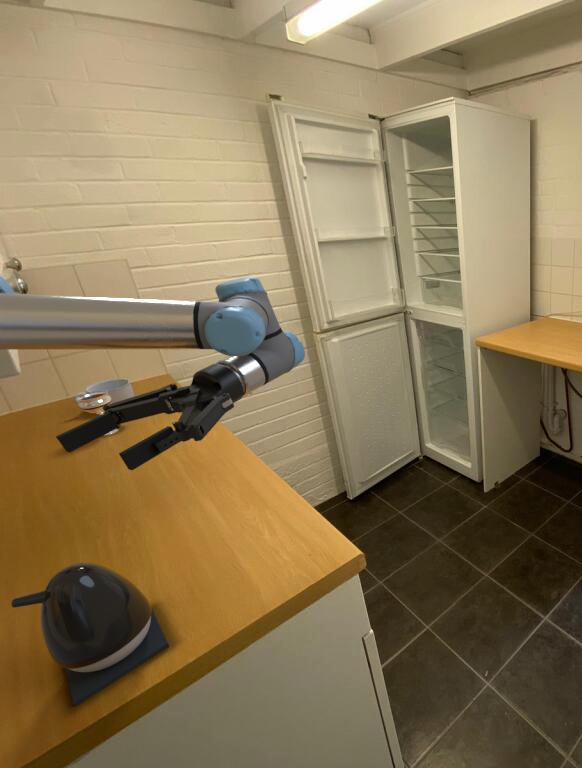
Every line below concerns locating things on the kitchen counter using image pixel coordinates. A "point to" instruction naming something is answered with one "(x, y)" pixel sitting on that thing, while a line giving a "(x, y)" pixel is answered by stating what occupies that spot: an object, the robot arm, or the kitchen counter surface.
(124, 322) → the robot arm
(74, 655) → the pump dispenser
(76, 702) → the mat
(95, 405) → the wineglass
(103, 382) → the teacup
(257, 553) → the kitchen counter surface
